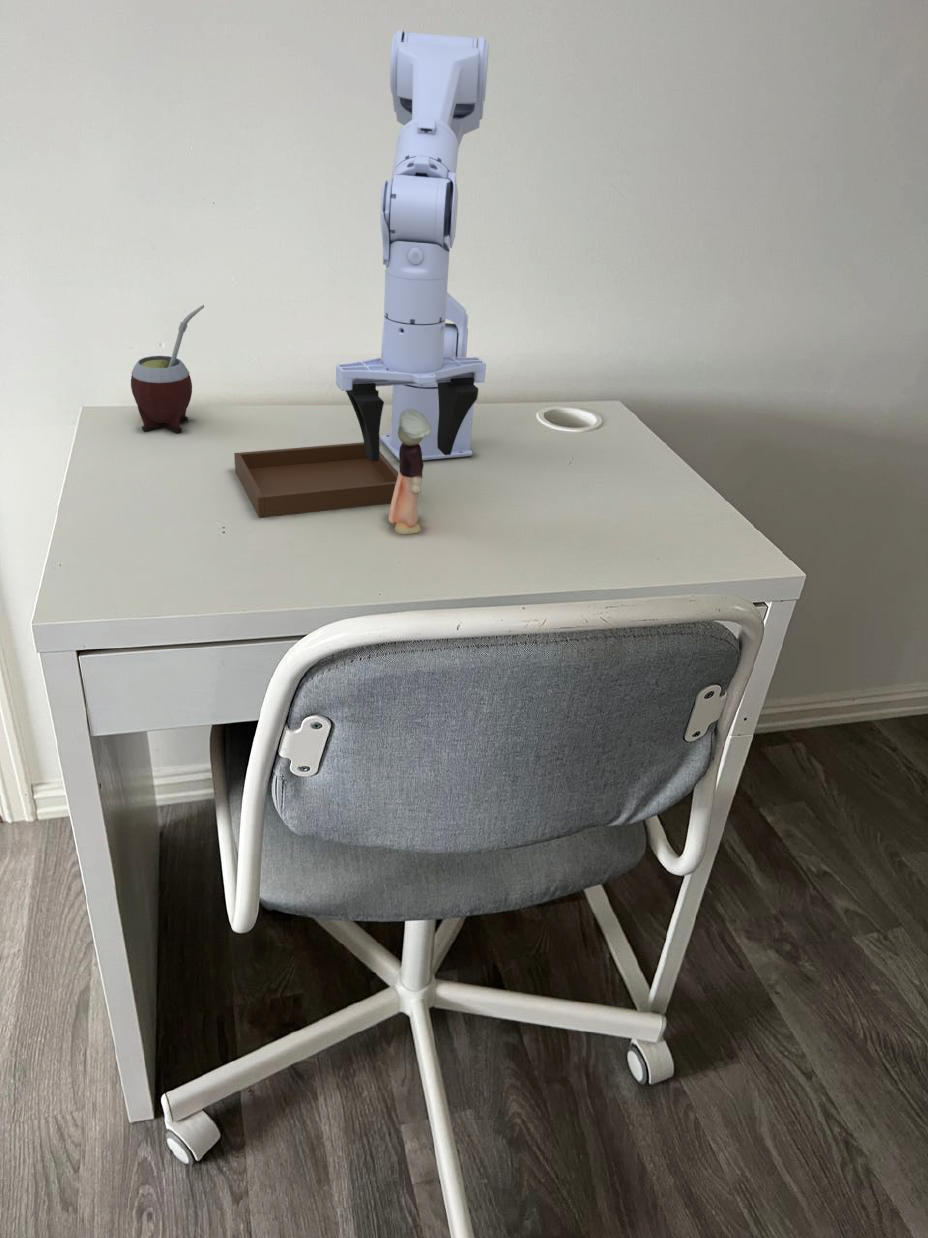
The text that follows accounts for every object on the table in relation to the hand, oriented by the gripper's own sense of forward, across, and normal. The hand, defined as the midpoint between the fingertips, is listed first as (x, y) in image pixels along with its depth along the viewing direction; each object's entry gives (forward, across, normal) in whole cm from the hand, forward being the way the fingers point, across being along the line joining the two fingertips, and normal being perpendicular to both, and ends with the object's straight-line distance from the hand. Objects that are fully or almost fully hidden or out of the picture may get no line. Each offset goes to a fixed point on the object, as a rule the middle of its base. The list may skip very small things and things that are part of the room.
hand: (408, 454), depth 97 cm
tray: (+8, -6, +12) cm, 16 cm away
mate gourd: (+8, -19, +34) cm, 40 cm away
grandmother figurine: (+8, 0, 0) cm, 8 cm away
